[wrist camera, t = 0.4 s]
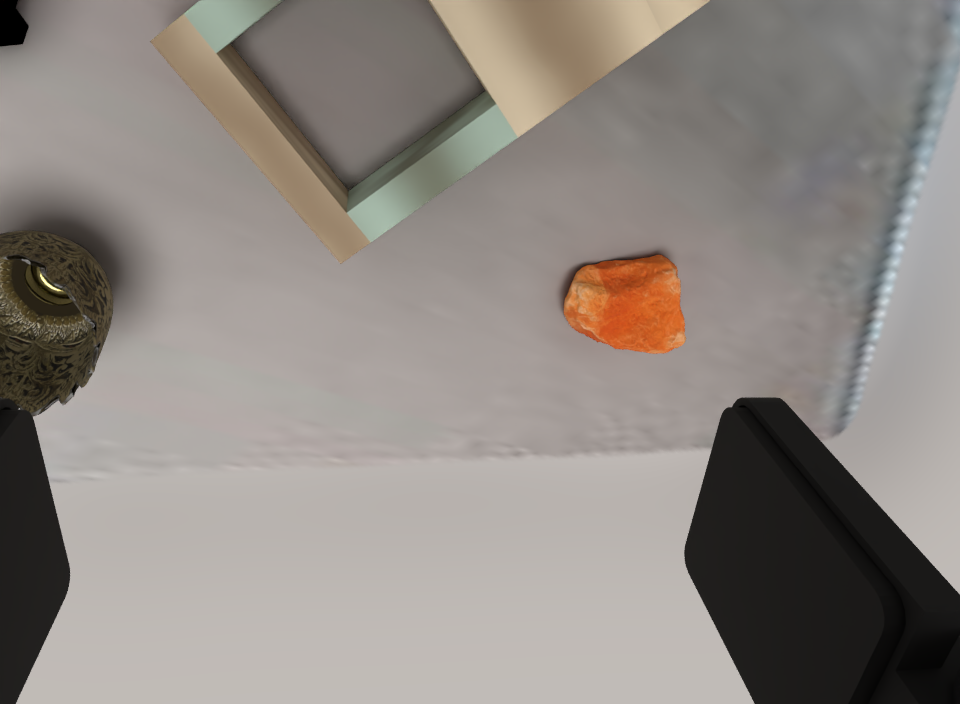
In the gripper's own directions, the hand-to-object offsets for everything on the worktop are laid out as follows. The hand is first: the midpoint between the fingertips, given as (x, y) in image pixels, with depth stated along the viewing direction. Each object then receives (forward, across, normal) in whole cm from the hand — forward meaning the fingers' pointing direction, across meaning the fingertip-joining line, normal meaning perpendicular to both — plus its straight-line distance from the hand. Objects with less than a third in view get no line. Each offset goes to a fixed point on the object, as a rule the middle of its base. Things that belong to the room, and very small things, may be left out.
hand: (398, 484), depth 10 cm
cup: (+29, +16, +9) cm, 34 cm away
